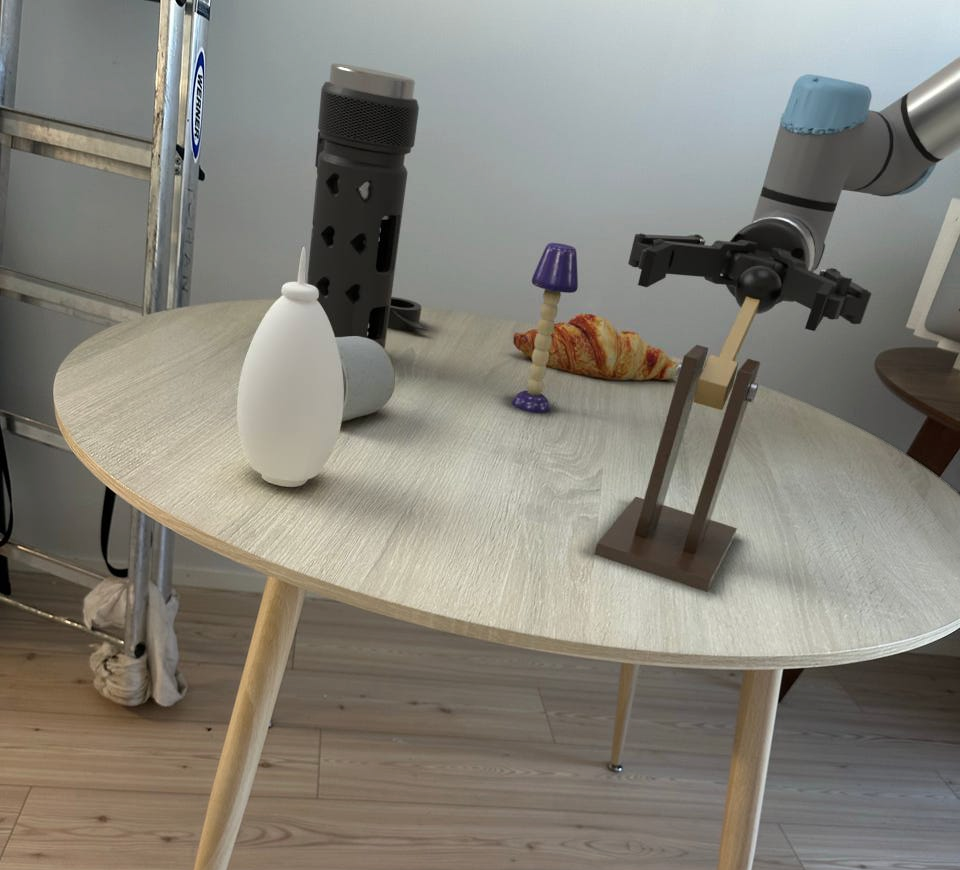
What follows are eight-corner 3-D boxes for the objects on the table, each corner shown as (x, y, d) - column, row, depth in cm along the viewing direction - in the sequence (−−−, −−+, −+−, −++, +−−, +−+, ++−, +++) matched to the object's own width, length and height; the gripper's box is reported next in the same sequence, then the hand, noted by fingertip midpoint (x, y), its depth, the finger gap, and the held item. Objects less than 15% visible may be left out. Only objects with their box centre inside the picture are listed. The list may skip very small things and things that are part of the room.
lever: (738, 288, 84) (746, 251, 81) (781, 300, 83) (791, 262, 80) (683, 405, 77) (690, 370, 74) (729, 419, 76) (738, 383, 73)
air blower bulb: (315, 513, 77) (340, 268, 68) (217, 489, 78) (229, 242, 68) (346, 478, 84) (372, 250, 75) (255, 456, 84) (270, 228, 75)
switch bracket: (631, 511, 89) (681, 329, 81) (732, 542, 87) (793, 359, 79) (592, 559, 79) (645, 357, 71) (705, 596, 77) (772, 392, 69)
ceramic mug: (396, 421, 98) (406, 340, 94) (343, 437, 91) (351, 352, 88) (310, 389, 102) (316, 311, 98) (253, 403, 95) (258, 320, 92)
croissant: (660, 402, 132) (668, 340, 131) (691, 388, 122) (700, 321, 122) (501, 376, 128) (509, 311, 127) (520, 359, 118) (528, 290, 117)
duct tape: (424, 321, 133) (428, 298, 131) (426, 342, 124) (430, 318, 123) (365, 311, 131) (368, 288, 130) (363, 332, 123) (366, 308, 121)
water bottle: (274, 349, 110) (349, 378, 107) (296, 56, 96) (383, 77, 93) (329, 338, 118) (402, 365, 114) (357, 65, 104) (441, 84, 100)
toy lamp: (498, 402, 108) (529, 238, 100) (529, 399, 111) (561, 239, 103) (529, 418, 106) (564, 251, 97) (560, 414, 109) (596, 252, 100)
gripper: (886, 334, 95) (873, 381, 77) (634, 269, 101) (568, 299, 84) (917, 250, 91) (911, 279, 74) (653, 188, 97) (589, 201, 80)
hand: (729, 290), depth 79 cm, fingers open, 13 cm apart
